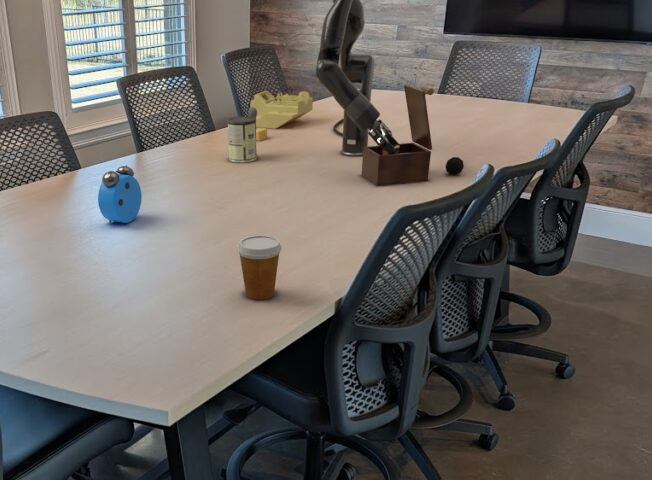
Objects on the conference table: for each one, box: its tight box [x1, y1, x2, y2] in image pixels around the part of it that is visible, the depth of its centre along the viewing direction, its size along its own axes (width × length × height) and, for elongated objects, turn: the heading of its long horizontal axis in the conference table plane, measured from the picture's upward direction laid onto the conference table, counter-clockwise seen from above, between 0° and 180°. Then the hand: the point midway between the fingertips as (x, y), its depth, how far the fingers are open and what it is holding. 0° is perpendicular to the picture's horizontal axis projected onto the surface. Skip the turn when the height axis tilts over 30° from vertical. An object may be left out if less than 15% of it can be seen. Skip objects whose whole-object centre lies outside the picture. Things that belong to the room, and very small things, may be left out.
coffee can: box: [227, 115, 258, 164], centre depth 260 cm, size 10×10×14 cm
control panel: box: [250, 90, 314, 130], centre depth 312 cm, size 24×16×20 cm
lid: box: [403, 84, 435, 151], centre depth 226 cm, size 18×13×6 cm
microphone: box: [445, 156, 465, 176], centre depth 240 cm, size 6×6×20 cm
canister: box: [382, 144, 400, 155], centre depth 231 cm, size 5×5×10 cm
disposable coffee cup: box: [236, 235, 283, 301], centre depth 156 cm, size 10×10×12 cm
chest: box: [361, 142, 432, 187], centre depth 232 cm, size 17×13×9 cm
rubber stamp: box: [248, 106, 268, 142], centre depth 289 cm, size 10×6×12 cm, turn 53°
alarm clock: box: [97, 164, 142, 225], centre depth 203 cm, size 13×6×15 cm, turn 151°
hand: (395, 150), depth 229 cm, fingers open, 8 cm apart
